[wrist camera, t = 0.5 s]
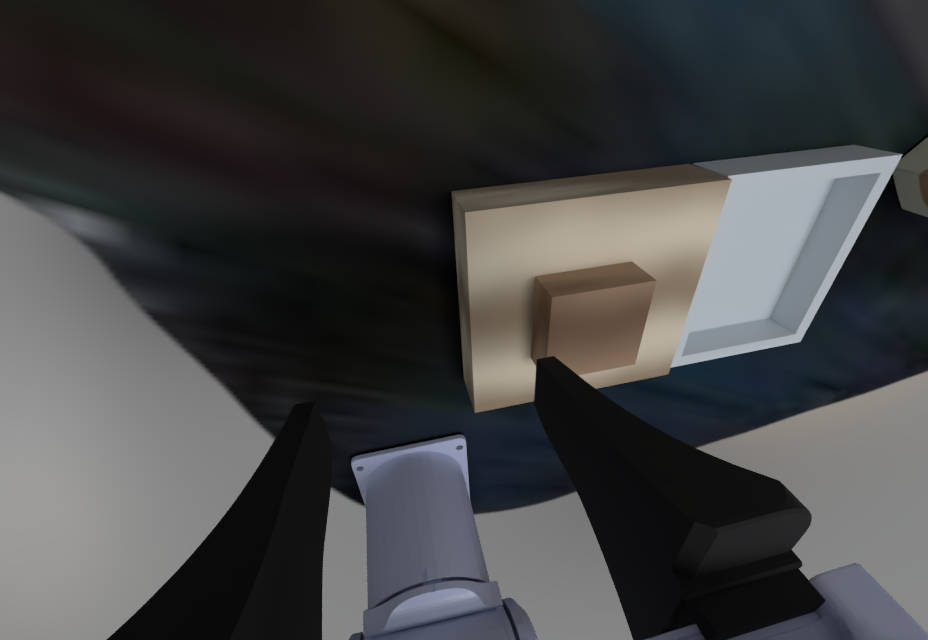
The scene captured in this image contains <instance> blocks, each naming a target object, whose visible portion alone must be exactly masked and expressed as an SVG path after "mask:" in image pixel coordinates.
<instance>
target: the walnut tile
mask: <svg viewBox="0 0 928 640" xmlns="http://www.w3.org/2000/svg"><path fill="white" fill-rule="evenodd" d="M656 282H657V280H655V279H654V278H653V277H652V276H650V275H649V274H648V273H646V272H645V271H644V270H643V269H641V268H640V267H639V266H637V265H636V264H635V263H634V262H625V263H619V264H612V265H606V266H599V267H592V268H586V269H579V270H573V271H566V272H560V273H553V274H546V275H540V276H536V278H535V294H534V311H533V327H532V344H531V359H532V360H533V362H534V364H535V366H536V363H537V359H540V358H546V357H551V356H555V357H556V358H557V359H558V360H560V361H561V362H562V363H563V364H565V365H566V366H567V367H568V368H570V369H571V370H572V371H573V372H575V373H576V374H577V375H583V374H588V373H593V372H599V371H604V370H609V369H614V368H619V367H624V366H629V365H635V363H636V359H637V355H638V351H639V347H640V343H641V340H642V336H643V332H644V328H645V324H646V320H647V316H648V313H649V309H650V305H651V301H652V297H653V293H654V289H655V285H656Z"/></svg>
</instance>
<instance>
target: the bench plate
mask: <svg viewBox="0 0 928 640" xmlns="http://www.w3.org/2000/svg"><path fill="white" fill-rule="evenodd" d="M731 181H732V179H730V178H727V177H724V176H721V175H719V174H716V173H713V172H710V171H707V170H704V169H702V168H699V167H696V166H693V165H690V164H683V165H674V166H665V167H657V168H648V169H639V170H631V171H622V172H613V173H605V174H596V175H588V176H579V177H570V178H562V179H553V180H544V181H536V182H527V183H518V184H510V185H501V186H493V187H484V188H475V189H467V190H458V191H451V193H452V208H453V223H454V238H455V253H456V268H457V283H458V298H459V313H460V327H461V342H462V357H463V372H464V380H465V383H466V387H467V390H468V393H469V396H470V399H471V402H472V406H473V409H474V412H475V413H477V412H482V411H487V410H492V409H497V408H502V407H507V406H512V405H517V404H522V403H527V402H532V401H534V395H535V379H536V366H535V364H534V362H533V360H532V359H531V344H532V327H533V311H534V294H535V278H536V276H540V275H546V274H553V273H560V272H566V271H573V270H579V269H586V268H592V267H599V266H606V265H612V264H619V263H625V262H634V263H635V264H636V265H637V266H639V267H640V268H641V269H643V270H644V271H645V272H646V273H648V274H649V275H650V276H652V277H653V278H654V279H655V280H657V282H656V285H655V289H654V293H653V297H652V301H651V305H650V309H649V313H648V316H647V320H646V324H645V328H644V332H643V336H642V340H641V343H640V347H639V351H638V355H637V359H636V363H635V365H629V366H624V367H619V368H614V369H609V370H604V371H599V372H593V373H588V374H583V375H578V376H580V377H581V378H582V379H583V380H585V381H586V382H587V383H589V384H590V385H591V386H592V387H594V388H595V389H597V388H602V387H607V386H612V385H617V384H622V383H627V382H632V381H637V380H641V379H646V378H651V377H656V376H661V375H666V374H668V373H669V370H670V367H671V364H672V361H673V358H674V355H675V352H676V349H677V346H678V343H679V340H680V337H681V334H682V330H683V327H684V324H685V321H686V318H687V315H688V312H689V309H690V306H691V303H692V300H693V297H694V294H695V291H696V288H697V285H698V282H699V279H700V276H701V272H702V269H703V266H704V263H705V260H706V257H707V254H708V251H709V248H710V245H711V242H712V239H713V236H714V233H715V230H716V227H717V224H718V221H719V218H720V214H721V211H722V208H723V205H724V202H725V199H726V196H727V193H728V190H729V187H730V184H731Z"/></svg>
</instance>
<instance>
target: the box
mask: <svg viewBox="0 0 928 640" xmlns="http://www.w3.org/2000/svg"><path fill="white" fill-rule="evenodd" d="M902 155H903V154H898V153H893V152H888V151H883V150H878V149H873V148H867V147H862V146H857V145H847V146H838V147H829V148H821V149H812V150H804V151H795V152H786V153H778V154H769V155H760V156H752V157H743V158H734V159H726V160H717V161H708V162H700V163H693V164H692V165H693V166H696V167H699V168H702V169H704V170H707V171H710V172H713V173H716V174H719V175H721V176H724V177H727V178H730V179H732V181H731V184H730V187H729V190H728V193H727V196H726V199H725V202H724V205H723V208H722V211H721V214H720V218H719V221H718V224H717V227H716V230H715V233H714V236H713V239H712V242H711V245H710V248H709V251H708V254H707V257H706V260H705V263H704V266H703V269H702V272H701V276H700V279H699V282H698V285H697V288H696V291H695V294H694V297H693V300H692V303H691V306H690V309H689V312H688V315H687V318H686V321H685V324H684V327H683V330H682V334H681V337H680V340H679V343H678V346H677V349H676V352H675V355H674V358H673V361H672V364H671V367H676V366H681V365H686V364H691V363H696V362H701V361H706V360H711V359H716V358H721V357H726V356H731V355H736V354H741V353H747V352H752V351H757V350H762V349H767V348H772V347H777V346H782V345H787V344H792V343H797V342H800V341H801V339H802V338H803V336H804V334H805V332H806V330H807V329H808V327H809V325H810V323H811V321H812V319H813V318H814V316H815V314H816V312H817V310H818V308H819V307H820V305H821V303H822V301H823V299H824V298H825V296H826V294H827V292H828V290H829V288H830V287H831V285H832V283H833V281H834V279H835V277H836V276H837V274H838V272H839V270H840V268H841V266H842V265H843V263H844V261H845V259H846V257H847V256H848V254H849V252H850V250H851V248H852V246H853V245H854V243H855V241H856V239H857V237H858V235H859V234H860V232H861V230H862V228H863V226H864V224H865V223H866V221H867V219H868V217H869V215H870V214H871V212H872V210H873V208H874V206H875V204H876V203H877V201H878V199H879V197H880V195H881V193H882V192H883V190H884V188H885V186H886V184H887V183H888V181H889V179H890V177H891V175H892V173H893V172H894V170H895V168H896V166H897V164H898V162H899V161H900V159H901V157H902ZM671 367H670V368H671Z"/></svg>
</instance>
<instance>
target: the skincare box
mask: <svg viewBox="0 0 928 640" xmlns="http://www.w3.org/2000/svg"><path fill="white" fill-rule="evenodd" d="M893 178H894V182H895V186H896V190H897V194H898V198H899V201H900V204H901V208H902V209H904V210H908V211H911V212H914V213H917V214H920V215H923V216H926V217H928V137H927V138H926V139H925V140H923V141H922V142H921V143H920V144H919V145H917V146H916V147H915V148H914V149H912V150H911V151H910V152H909V153H908V154H906V155H905V156H904V157H903V158H901V159H900V161H899V162H898V164H897V166H896V168H895V170H894V172H893Z"/></svg>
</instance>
